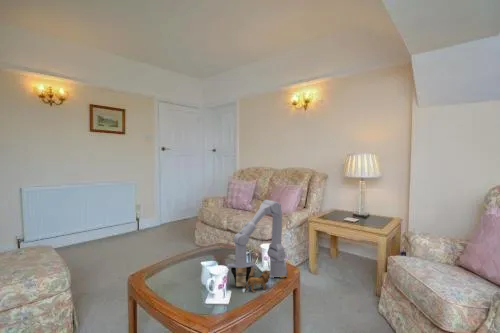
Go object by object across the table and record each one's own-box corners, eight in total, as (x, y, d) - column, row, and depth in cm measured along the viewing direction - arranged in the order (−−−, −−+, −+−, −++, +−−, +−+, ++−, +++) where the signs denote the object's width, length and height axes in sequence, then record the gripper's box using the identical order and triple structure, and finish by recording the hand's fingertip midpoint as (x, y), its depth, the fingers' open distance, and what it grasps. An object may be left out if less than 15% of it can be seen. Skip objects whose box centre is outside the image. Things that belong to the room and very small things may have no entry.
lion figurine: (267, 284, 141) (267, 267, 141) (272, 288, 136) (272, 271, 136) (242, 290, 134) (242, 273, 134) (247, 295, 130) (246, 277, 129)
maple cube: (246, 281, 141) (246, 272, 141) (245, 286, 136) (245, 276, 136) (237, 281, 142) (237, 272, 141) (236, 286, 137) (236, 276, 136)
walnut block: (254, 273, 155) (254, 268, 154) (253, 281, 145) (253, 275, 144) (237, 273, 155) (237, 267, 155) (235, 281, 145) (235, 275, 145)
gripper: (254, 252, 143) (254, 277, 143) (227, 253, 142) (228, 278, 143) (254, 257, 136) (255, 283, 136) (226, 258, 135) (227, 284, 136)
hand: (241, 281), depth 139 cm, fingers closed on maple cube, 5 cm apart
